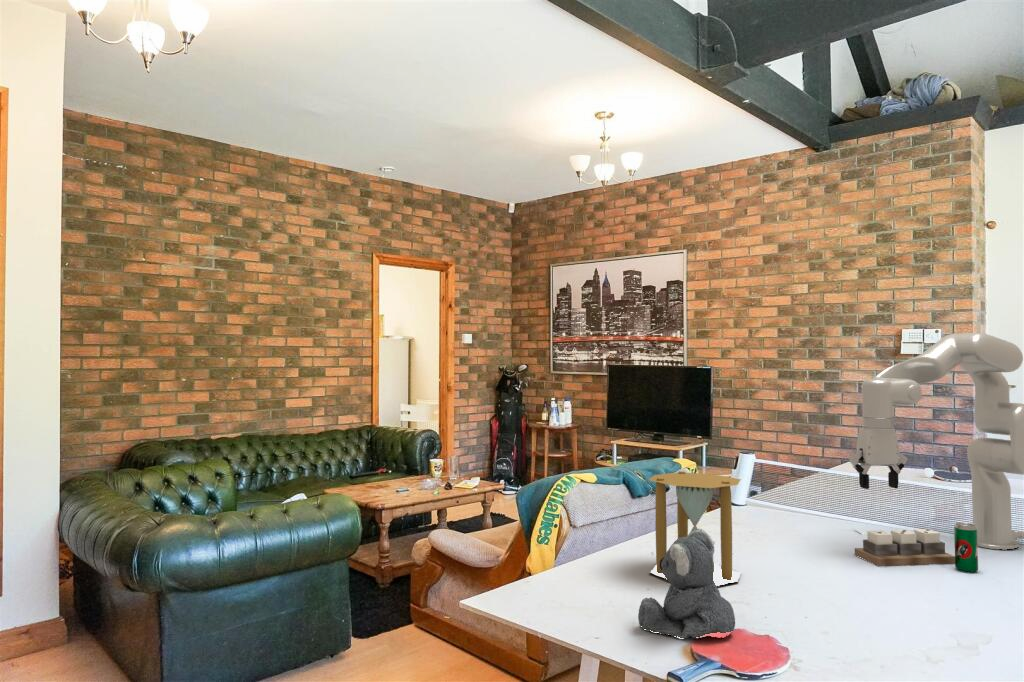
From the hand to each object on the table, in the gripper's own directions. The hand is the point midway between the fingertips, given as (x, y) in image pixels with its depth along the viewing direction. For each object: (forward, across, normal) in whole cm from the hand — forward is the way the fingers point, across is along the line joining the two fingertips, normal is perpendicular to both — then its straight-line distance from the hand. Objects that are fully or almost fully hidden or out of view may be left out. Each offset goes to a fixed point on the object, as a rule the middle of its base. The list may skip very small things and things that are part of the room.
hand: (878, 487), depth 192 cm
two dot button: (+16, -14, 0) cm, 21 cm away
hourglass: (+20, +55, +6) cm, 59 cm away
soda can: (+20, -16, +11) cm, 28 cm away
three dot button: (+16, -7, 0) cm, 17 cm away
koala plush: (+20, +69, +41) cm, 83 cm away
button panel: (+20, -7, 0) cm, 21 cm away
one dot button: (+16, 0, 0) cm, 16 cm away
